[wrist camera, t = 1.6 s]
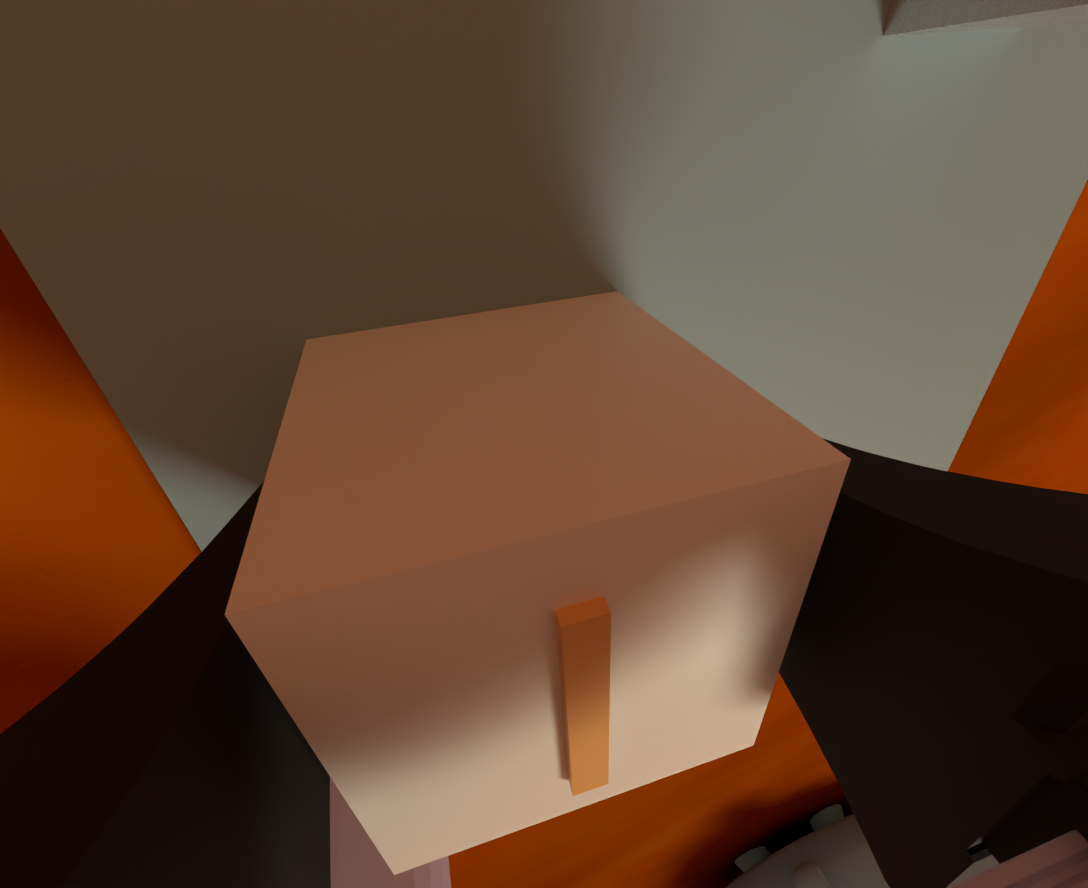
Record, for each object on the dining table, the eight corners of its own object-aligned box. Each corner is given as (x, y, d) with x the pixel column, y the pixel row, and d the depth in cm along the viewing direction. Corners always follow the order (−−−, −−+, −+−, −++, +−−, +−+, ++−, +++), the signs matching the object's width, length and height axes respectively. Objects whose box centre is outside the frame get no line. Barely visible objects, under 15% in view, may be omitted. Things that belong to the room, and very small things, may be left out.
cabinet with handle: (616, 290, 10) (866, 470, 5) (613, 513, 13) (761, 758, 8) (306, 339, 8) (218, 636, 4) (385, 568, 12) (394, 893, 7)
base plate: (904, 474, 17) (935, 496, 16) (286, 636, 13) (280, 676, 13) (1271, -395, 8) (1398, -468, 7) (-465, -691, 4) (-736, -951, 3)
